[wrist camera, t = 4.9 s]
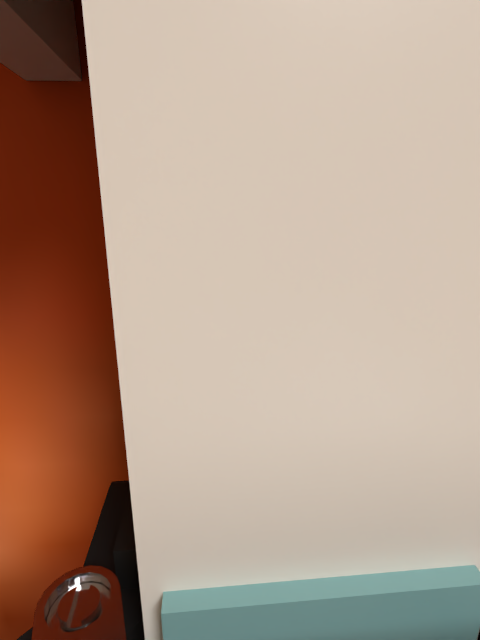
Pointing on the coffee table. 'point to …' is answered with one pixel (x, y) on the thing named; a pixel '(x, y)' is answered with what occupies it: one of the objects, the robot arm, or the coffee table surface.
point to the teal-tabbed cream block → (296, 310)
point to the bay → (40, 39)
